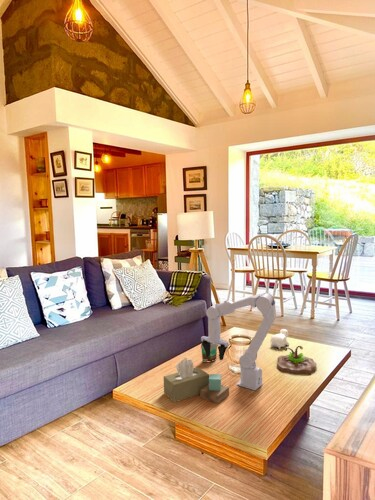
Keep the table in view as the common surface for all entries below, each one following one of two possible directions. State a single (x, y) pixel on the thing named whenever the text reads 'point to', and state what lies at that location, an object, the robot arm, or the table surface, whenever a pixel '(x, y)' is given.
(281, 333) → the white animal figurine
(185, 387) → the tissue box
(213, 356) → the food container
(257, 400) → the table surface
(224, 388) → the walnut block
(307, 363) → the plant
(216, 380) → the teal cube
